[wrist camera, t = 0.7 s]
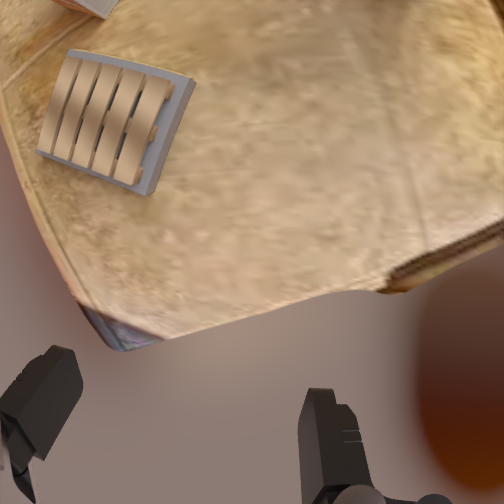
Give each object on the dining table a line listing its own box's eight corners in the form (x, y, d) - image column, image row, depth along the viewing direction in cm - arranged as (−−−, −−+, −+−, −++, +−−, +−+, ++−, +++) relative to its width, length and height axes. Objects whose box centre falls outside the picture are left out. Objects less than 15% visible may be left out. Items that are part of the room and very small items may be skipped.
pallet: (71, 57, 26) (64, 55, 24) (177, 83, 27) (172, 81, 26) (42, 147, 29) (34, 148, 28) (139, 184, 31) (133, 186, 29)
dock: (80, 51, 28) (68, 47, 25) (197, 81, 30) (190, 75, 27) (48, 150, 32) (34, 152, 30) (154, 191, 34) (145, 196, 31)
